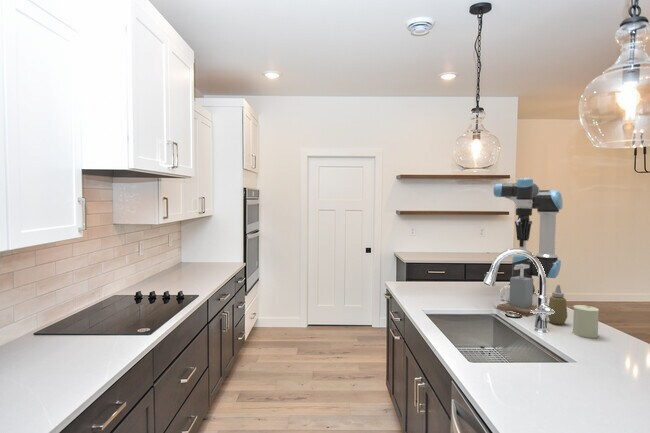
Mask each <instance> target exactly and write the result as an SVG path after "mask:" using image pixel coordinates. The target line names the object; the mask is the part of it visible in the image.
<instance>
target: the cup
mask: <svg viewBox="0 0 650 433" xmlns="http://www.w3.org/2000/svg"><path fill="white" fill-rule="evenodd" d="M503 290H504V294H505V298H506V299H505V298H504V297H502V291H503ZM499 297H500V298H501V299H503V300H504V301H506V302H507V301H508V302H509V301H510V285H509V284H507V285H504V287H502V288H500V290H499Z"/></svg>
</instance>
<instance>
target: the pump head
mask: <svg viewBox="0 0 650 433" xmlns="http://www.w3.org/2000/svg"><path fill="white" fill-rule="evenodd" d="M526 268H529V265H527V264H518V265H515V267H514V269H515V270H517V269H520V278H522V279H523V278H524V269H526Z"/></svg>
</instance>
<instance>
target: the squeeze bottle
mask: <svg viewBox="0 0 650 433" xmlns="http://www.w3.org/2000/svg"><path fill="white" fill-rule="evenodd" d="M548 307H550V308H551V309H553V310H554V311H555V313H554V314H551V315H547V317H548V320H549V323H551V324H553V325H560V326H561V325H565V323H566V320H567V319H568V308H567V298H565V293H564V292H562V290H561V285H560V284H556V286H555V291H552V294H551V296H550V297H549V302H548Z"/></svg>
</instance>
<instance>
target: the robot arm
mask: <svg viewBox="0 0 650 433" xmlns="http://www.w3.org/2000/svg"><path fill="white" fill-rule="evenodd" d="M493 196H494V197H495V198H504V199H508V200H510V201H512V202H513V203H514V204H515V207H516V208H515V216H518V217H517V220H516V221H514V225H515V231H516V239H517V241H519V248H518V250H519V249H522V250H526V251H527V242H528V241H529V239H530V236H531V235H530V234H531V227H532V224H533V221H531V220H530V216H532V215H533V210H537V211H536V212H537V213H538V215H539V234H538V235H539V237H538V238H539V239H538V240H539V241H538V242H539V244H538V253H536V255H535V258H536V257H537V258H538V259H539V261H540V262H541V264H542V266H543V268H544V271H545V274H546V277H545V278H546V279H556V278H557V277H558V276H559V273H560V270H561V265H562V264H561V260H560V259H558V258H559V257H558V255H557V254H556V230H557V229H556V226H557V215H558V214H559V213H560V210H562V209H563V197H562V194H561V192H560V191H559V190H557V189H542V190H541V189H540V187H539V186H538V184H536V183H534V179H533V178H531V177H522V178H521V177H520V178H517V180H516V183H502V182H501V183H496V184H495V185H494V186H493ZM520 255H521V254H515V255H514V256H512V262H511V264H512V265H511V267H512V268H511V277H516V276H520V269H517V270H515V269H514V267H515V265H518V264H527V265H529V268H526V269H524V277H527V278H532V279H533V277H539V276H538V272H537V269H536V267H535V265H534V264H533V262H532V261H531V260H530V259H529V258H527V257H525V256H520ZM508 285H510V283H509V284H508ZM535 292H536V289H535V284H534V283H533V294H534V293H535Z"/></svg>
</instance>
